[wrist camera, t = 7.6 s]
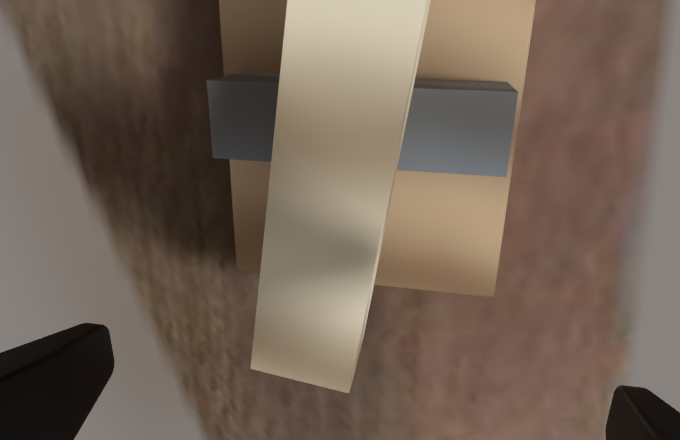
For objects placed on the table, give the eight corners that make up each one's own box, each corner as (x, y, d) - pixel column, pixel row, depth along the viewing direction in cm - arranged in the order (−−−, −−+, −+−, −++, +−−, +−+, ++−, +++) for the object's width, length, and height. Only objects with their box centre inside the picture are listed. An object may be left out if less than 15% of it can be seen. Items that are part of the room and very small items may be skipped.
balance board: (490, 278, 20) (500, 335, 17) (249, 254, 22) (210, 302, 18) (542, -104, 16) (573, -142, 12) (230, -96, 17) (172, -127, 14)
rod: (363, 335, 18) (348, 393, 15) (280, 315, 18) (250, 368, 15) (460, -150, 12) (465, -199, 9) (338, -165, 13) (308, -216, 10)
